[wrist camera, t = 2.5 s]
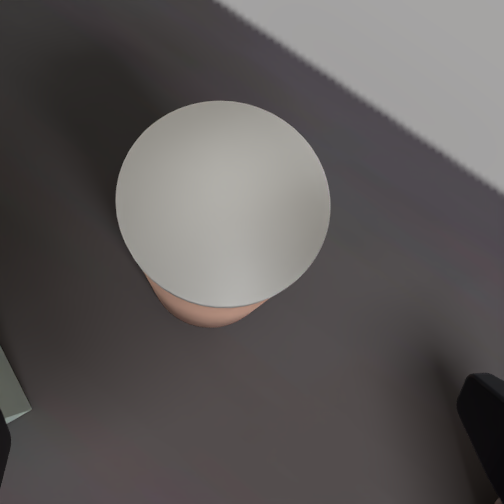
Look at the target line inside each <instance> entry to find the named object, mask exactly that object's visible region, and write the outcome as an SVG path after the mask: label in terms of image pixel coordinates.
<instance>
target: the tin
mask: <svg viewBox="0 0 504 504" xmlns="http://www.w3.org/2000/svg"><path fill="white" fill-rule="evenodd" d="M494 504H503V503H502V502H501V500H500V498H498V499H497V500H496V502H495V503H494Z"/></svg>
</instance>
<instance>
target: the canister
mask: <svg viewBox="0 0 504 504" xmlns="http://www.w3.org/2000/svg"><path fill="white" fill-rule="evenodd" d="M116 213H117V219H118V223H119V228H120V231H121V234H122V236H123V239H124V241H125V244H126V245H127V247H128V249H129V251H130V253H131V254H132V256H133V258H134V260H135V261H136V262H137V264H138V265H139V266H140V268H141V269H142V270H143V272H144V274H145V275H146V277H147V279H148V281H149V283H150V284H151V286H152V288H153V290H154V291H155V293H156V295H157V297H158V299H159V300H160V302H161V303H162V304H163V306H164V307H165V308H166V309H167V310H168V311H169V312H170V313H171V314H172V315H174V316H175V317H176V318H178V319H180V320H181V321H183V322H186V323H188V324H190V325H194V326H198V327H205V328H215V327H222V326H226V325H230V324H232V323H234V322H237V321H239V320H240V319H242V318H244V317H245V316H246V315H248V314H249V313H250V312H252V311H253V310H254V309H256V308H257V307H258V306H260V305H261V304H262V303H264V302H265V301H266V300H268V299H269V298H271V297H273V296H274V295H276V294H278V293H280V292H281V291H283V290H284V289H286V288H287V287H288V286H290V285H291V284H292V283H293V282H295V281H296V280H297V279H298V278H299V277H300V276H301V275H302V274H303V273H304V272H305V271H306V270H307V269H308V268H309V266H310V265H311V264H312V262H313V261H314V260H315V258H316V256H317V254H318V253H319V251H320V249H321V247H322V245H323V242H324V239H325V237H326V234H327V230H328V225H329V220H330V193H329V187H328V182H327V179H326V176H325V173H324V170H323V168H322V165H321V163H320V161H319V159H318V157H317V156H316V154H315V152H314V151H313V149H312V148H311V146H310V145H309V144H308V143H307V141H306V140H305V139H304V138H303V137H302V136H301V135H300V134H299V133H298V132H297V131H296V130H295V129H294V128H293V127H292V126H290V125H289V124H288V123H286V122H285V121H284V120H282V119H281V118H279V117H277V116H276V115H274V114H272V113H270V112H268V111H265V110H263V109H261V108H258V107H255V106H252V105H248V104H244V103H239V102H233V101H207V102H201V103H196V104H191V105H188V106H185V107H182V108H179V109H177V110H175V111H173V112H170V113H168V114H167V115H165V116H163V117H162V118H160V119H159V120H157V121H156V122H155V123H153V124H152V125H151V126H150V127H148V128H147V129H146V130H145V131H144V132H143V133H142V134H141V136H140V137H139V138H138V139H137V140H136V142H135V143H134V144H133V146H132V147H131V149H130V150H129V152H128V154H127V156H126V158H125V160H124V162H123V164H122V167H121V170H120V173H119V177H118V182H117V187H116Z"/></svg>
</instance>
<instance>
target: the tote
mask: <svg viewBox="0 0 504 504" xmlns="http://www.w3.org/2000/svg"><path fill="white" fill-rule="evenodd" d="M0 409H1V410H2V413H3V416H4V418H5V421H6V424H7V423H9V422H11V421H13V420H14V419H16V418H18V417H20V416H21V415H23V414H25V413H27V412H28V411H30V410H32V408H31V406H30V404H29V402H28V400H27V398H26V396H25V394H24V392H23V390H22V388H21V386H20V384H19V382H18V380H17V378H16V376H15V374H14V372H13V370H12V368H11V366H10V364H9V362H8V360H7V358H6V356H5V354H4V352H3V350H2V348H1V346H0Z"/></svg>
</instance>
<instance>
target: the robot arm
mask: <svg viewBox="0 0 504 504" xmlns="http://www.w3.org/2000/svg"><path fill="white" fill-rule="evenodd" d="M457 411H458V414H459V417H460V419H461V421H462V423H463V425H464V428H465V430H466V432H467V434H468V436H469V439H470V441H471V443H472V445H473V447H474V449H475V452H476V454H477V456H478V458H479V460H480V463H481V465H482V467H483V469H484V471H485V473H486V475H487V477H488V479H489V481H490V482H491V484H492V486H493V488H494V490H495V491H496V493H497V495H498V497H499V498H500V500H501V502H502V503H503V504H504V381H503V380H501V379H499V378H497V377H495V376H494V375H492V374H489V373H476V374H470V375H469V376H467V378H466V380H465V382H464V385H463V387H462V389H461V391H460V394H459V396H458V399H457ZM10 446H11V436H10V432H9V429H8V426H7V424H6V421H5V418H4V416H3V413H2V410H1V409H0V487H1V483H2V479H3V475H4V471H5V467H6V463H7V459H8V455H9V452H10Z"/></svg>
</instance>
